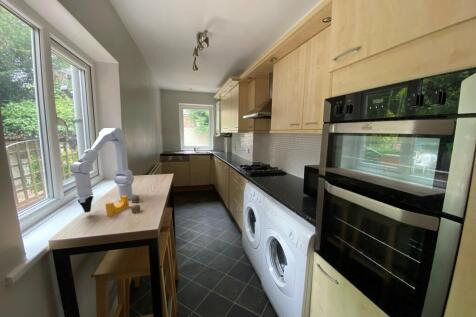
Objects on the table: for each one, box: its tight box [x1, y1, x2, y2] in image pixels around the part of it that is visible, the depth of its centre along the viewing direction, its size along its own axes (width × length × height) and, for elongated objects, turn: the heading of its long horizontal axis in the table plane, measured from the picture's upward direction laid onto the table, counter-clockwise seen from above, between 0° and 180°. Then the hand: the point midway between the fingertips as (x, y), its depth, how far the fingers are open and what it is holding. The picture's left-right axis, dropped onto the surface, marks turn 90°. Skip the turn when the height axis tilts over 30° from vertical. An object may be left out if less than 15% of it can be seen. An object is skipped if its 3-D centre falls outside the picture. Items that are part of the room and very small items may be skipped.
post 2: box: [131, 204, 141, 214], centre depth 99 cm, size 4×4×3 cm
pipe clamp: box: [105, 196, 130, 217], centre depth 100 cm, size 12×4×6 cm, turn 171°
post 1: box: [130, 195, 140, 204], centre depth 112 cm, size 4×4×3 cm
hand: (87, 211), depth 95 cm, fingers closed
